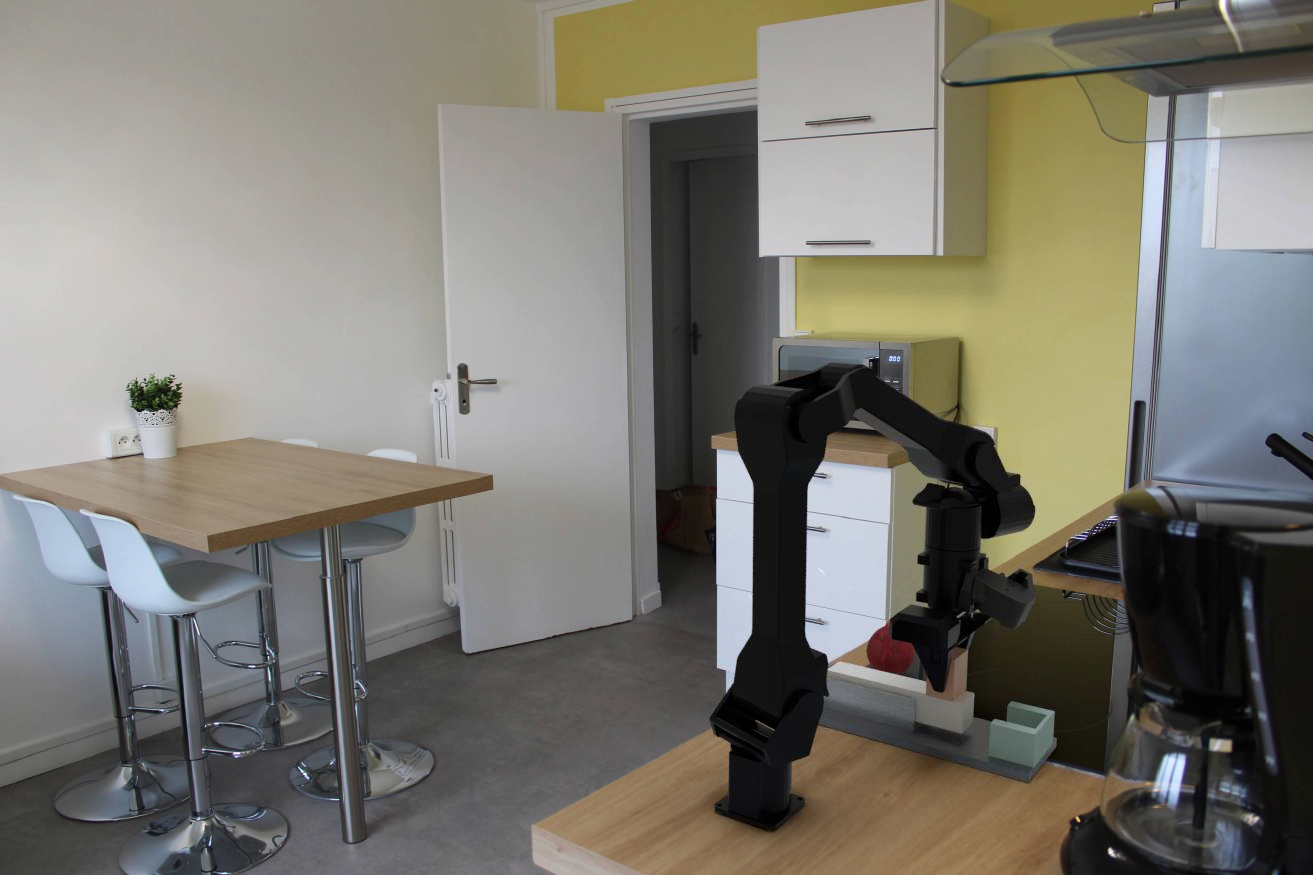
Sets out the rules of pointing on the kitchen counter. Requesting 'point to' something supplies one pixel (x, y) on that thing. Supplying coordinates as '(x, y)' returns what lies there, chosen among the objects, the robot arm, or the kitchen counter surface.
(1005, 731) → the socket
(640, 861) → the kitchen counter surface
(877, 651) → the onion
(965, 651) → the sliding bolt
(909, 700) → the frame
